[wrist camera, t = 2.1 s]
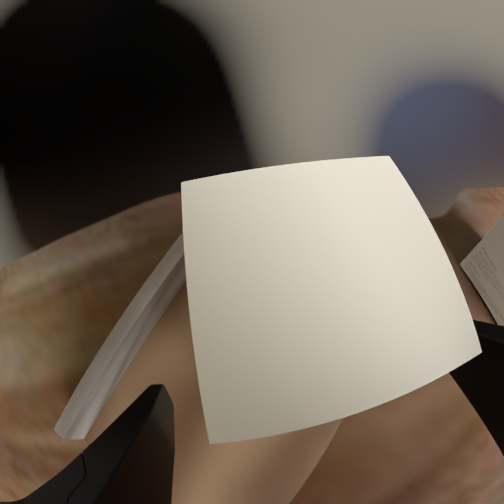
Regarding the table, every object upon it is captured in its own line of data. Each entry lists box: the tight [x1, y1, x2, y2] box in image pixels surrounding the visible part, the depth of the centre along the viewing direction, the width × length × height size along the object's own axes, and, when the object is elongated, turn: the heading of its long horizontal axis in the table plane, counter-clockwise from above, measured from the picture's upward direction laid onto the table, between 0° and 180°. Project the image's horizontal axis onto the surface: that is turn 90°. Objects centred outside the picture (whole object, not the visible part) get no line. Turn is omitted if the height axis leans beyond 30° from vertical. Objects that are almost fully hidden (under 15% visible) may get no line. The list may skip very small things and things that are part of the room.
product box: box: [181, 156, 482, 444], centre depth 10 cm, size 6×6×12 cm
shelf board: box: [54, 232, 343, 504], centre depth 14 cm, size 14×18×4 cm
